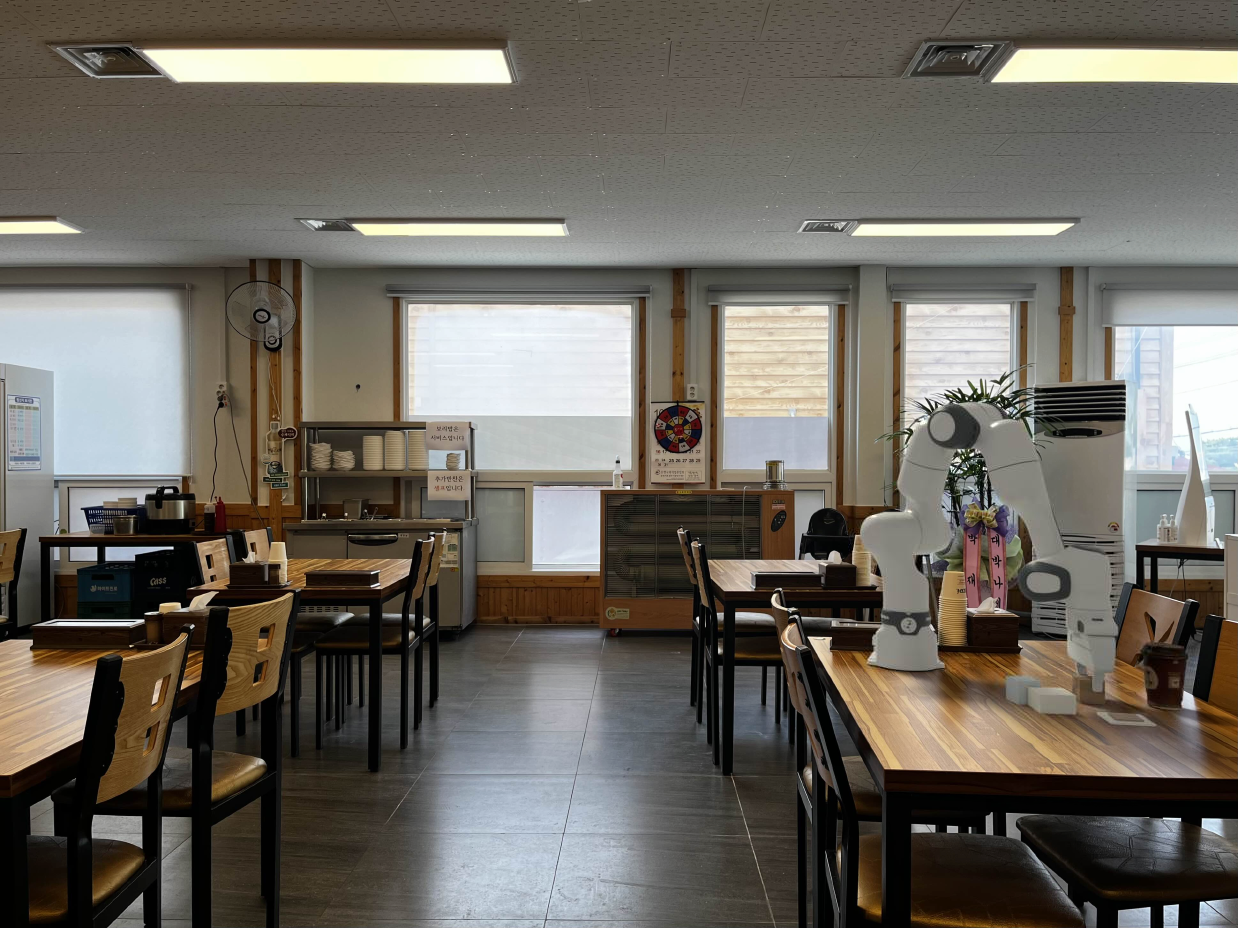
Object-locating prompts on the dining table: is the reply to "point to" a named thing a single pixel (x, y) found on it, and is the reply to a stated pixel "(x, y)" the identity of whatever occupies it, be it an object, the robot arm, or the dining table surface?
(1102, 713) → the tile
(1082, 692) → the walnut cube
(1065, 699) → the plinth block
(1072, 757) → the dining table surface
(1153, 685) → the coffee cup
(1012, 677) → the grey cube
